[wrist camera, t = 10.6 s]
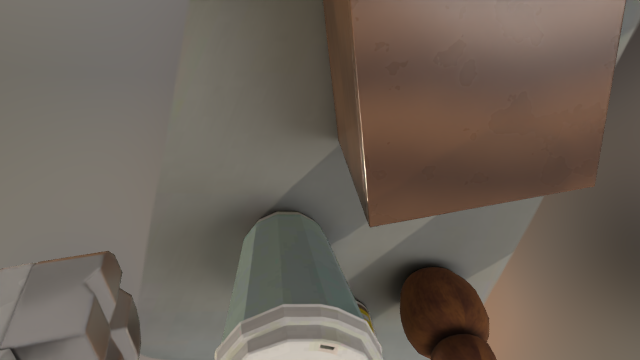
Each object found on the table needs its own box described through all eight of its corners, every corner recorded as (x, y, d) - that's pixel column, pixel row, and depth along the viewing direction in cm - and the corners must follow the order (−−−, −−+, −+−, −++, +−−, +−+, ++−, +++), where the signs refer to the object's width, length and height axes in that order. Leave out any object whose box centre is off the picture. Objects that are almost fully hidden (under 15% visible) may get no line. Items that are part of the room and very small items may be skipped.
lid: (338, -104, 26) (360, -86, 22) (640, -149, 27) (715, -140, 23) (366, 219, 36) (385, 273, 32) (588, 179, 36) (634, 226, 32)
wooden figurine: (382, 301, 54) (432, 455, 41) (404, 252, 51) (466, 401, 38) (449, 309, 55) (517, 459, 43) (474, 262, 53) (555, 407, 40)
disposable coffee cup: (318, 299, 52) (350, 457, 40) (196, 277, 49) (190, 442, 36) (366, 203, 47) (419, 349, 35) (235, 171, 44) (242, 319, 32)
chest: (310, -111, 35) (339, -82, 26) (539, -145, 35) (637, -127, 27) (338, 139, 44) (366, 219, 36) (519, 108, 45) (587, 179, 36)
